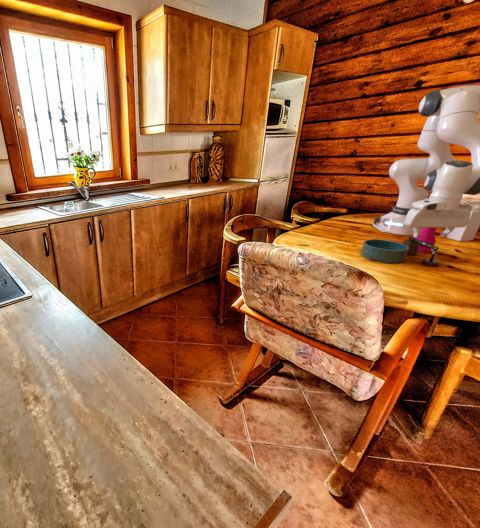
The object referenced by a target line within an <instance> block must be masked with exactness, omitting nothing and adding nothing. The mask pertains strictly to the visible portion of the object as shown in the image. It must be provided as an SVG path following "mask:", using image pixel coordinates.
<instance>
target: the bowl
mask: <svg viewBox="0 0 480 528" xmlns="http://www.w3.org/2000/svg"><path fill="white" fill-rule="evenodd" d="M408 250H409V247H408V246H406V245H404V244H403V243H402V242H398V241H393V240H387V239H366V240H364V241H363V243H362V247H361V250H360V254H361V256H362V257H364V258H366V259H368V260H371V261H374V262H378V263H383V264H399V263H403V262H405V261H406V258H407V257H408V256H407V253H408Z"/></svg>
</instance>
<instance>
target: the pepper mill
mask: <svg viewBox="0 0 480 528" xmlns="http://www.w3.org/2000/svg"><path fill="white" fill-rule="evenodd" d="M436 229H438V227H422V229H421V232H420V233H421V237H414V238H417V239H419V240H422V241H424V242H427V243H429V244H431V245H434V246H436V235H435V234H436ZM431 250H432V249H430V248H428V247H425V246H423V245H421V244H420V246H419V249H418V252H417V254H418V253H420V254H430V253H431Z"/></svg>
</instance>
